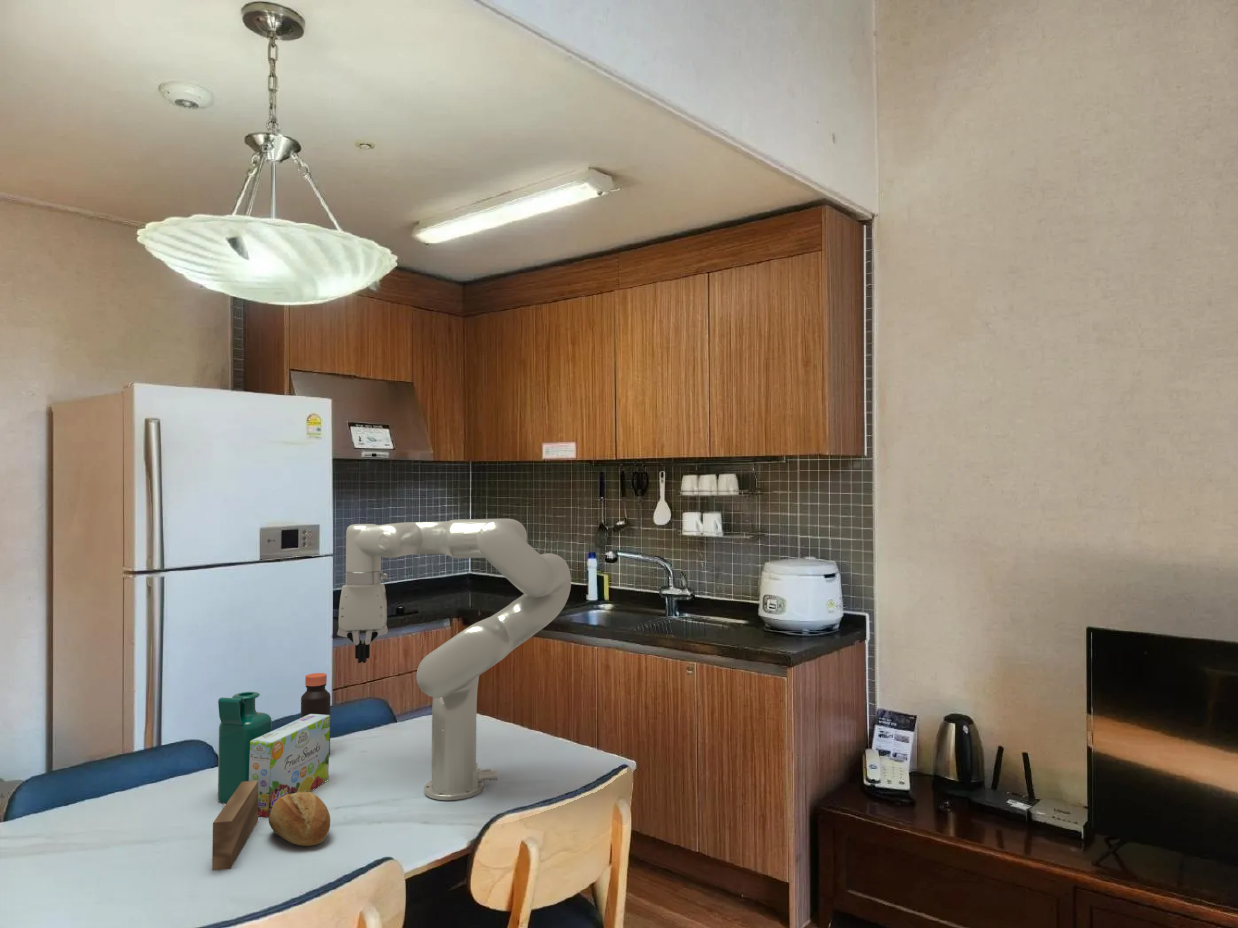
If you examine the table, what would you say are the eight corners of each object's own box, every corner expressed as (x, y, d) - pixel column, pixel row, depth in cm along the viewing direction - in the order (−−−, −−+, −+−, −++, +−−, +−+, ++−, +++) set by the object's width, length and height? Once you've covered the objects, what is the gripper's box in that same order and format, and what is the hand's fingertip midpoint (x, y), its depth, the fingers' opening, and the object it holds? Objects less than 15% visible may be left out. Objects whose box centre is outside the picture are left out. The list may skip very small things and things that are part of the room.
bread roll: (291, 859, 139) (291, 813, 140) (256, 834, 150) (257, 791, 150) (342, 841, 146) (342, 797, 147) (305, 819, 157) (306, 778, 157)
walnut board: (257, 821, 155) (258, 780, 156) (231, 868, 136) (231, 820, 136) (241, 822, 155) (241, 781, 155) (212, 869, 135) (212, 822, 136)
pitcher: (240, 787, 173) (242, 686, 174) (274, 790, 172) (276, 688, 173) (208, 804, 164) (210, 698, 165) (244, 808, 162) (246, 700, 163)
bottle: (294, 758, 193) (295, 675, 193) (319, 750, 198) (319, 670, 199) (311, 763, 189) (312, 679, 190) (335, 755, 194) (336, 674, 195)
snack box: (271, 818, 157) (272, 741, 158) (246, 816, 158) (247, 740, 159) (330, 780, 178) (331, 713, 178) (308, 779, 179) (308, 711, 180)
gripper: (398, 576, 182) (397, 656, 181) (330, 578, 179) (329, 659, 178) (397, 580, 175) (396, 663, 174) (325, 581, 171) (324, 666, 171)
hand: (362, 661), depth 176 cm, fingers closed
